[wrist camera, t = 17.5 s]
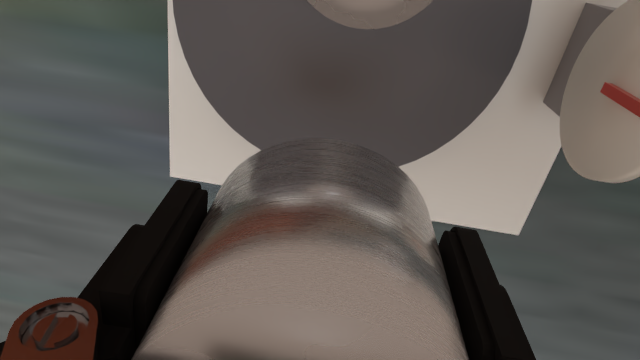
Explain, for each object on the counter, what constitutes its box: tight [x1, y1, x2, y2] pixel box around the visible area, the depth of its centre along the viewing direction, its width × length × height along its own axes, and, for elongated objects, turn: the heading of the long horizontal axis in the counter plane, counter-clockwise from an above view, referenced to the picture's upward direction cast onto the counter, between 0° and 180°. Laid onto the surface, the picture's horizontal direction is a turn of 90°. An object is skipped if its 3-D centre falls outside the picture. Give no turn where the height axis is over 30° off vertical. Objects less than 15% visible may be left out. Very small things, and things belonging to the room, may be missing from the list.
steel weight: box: [131, 138, 469, 360], centre depth 10 cm, size 6×6×6 cm
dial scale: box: [168, 0, 640, 235], centre depth 19 cm, size 22×22×12 cm
